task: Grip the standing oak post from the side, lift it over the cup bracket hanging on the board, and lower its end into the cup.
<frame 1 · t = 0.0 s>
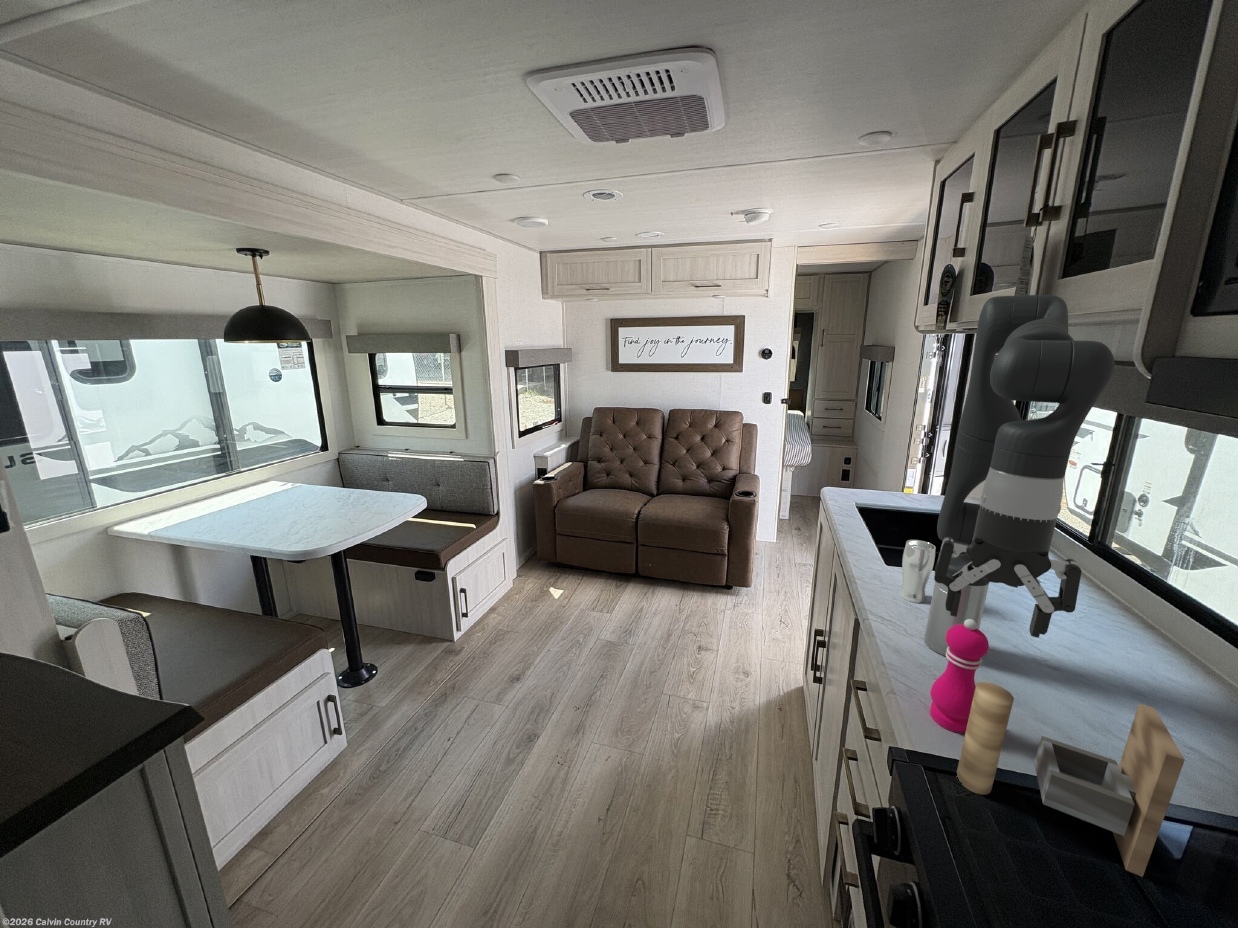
hand: (991, 623, 64), 29 cm above the countertop, tool pointing down, fingers open, 8 cm apart
oak post: (973, 781, 74), on the countertop
beer glass: (911, 597, 129), on the countertop
cup bracket: (1068, 819, 69), on the countertop
pepper mill: (949, 720, 87), on the countertop
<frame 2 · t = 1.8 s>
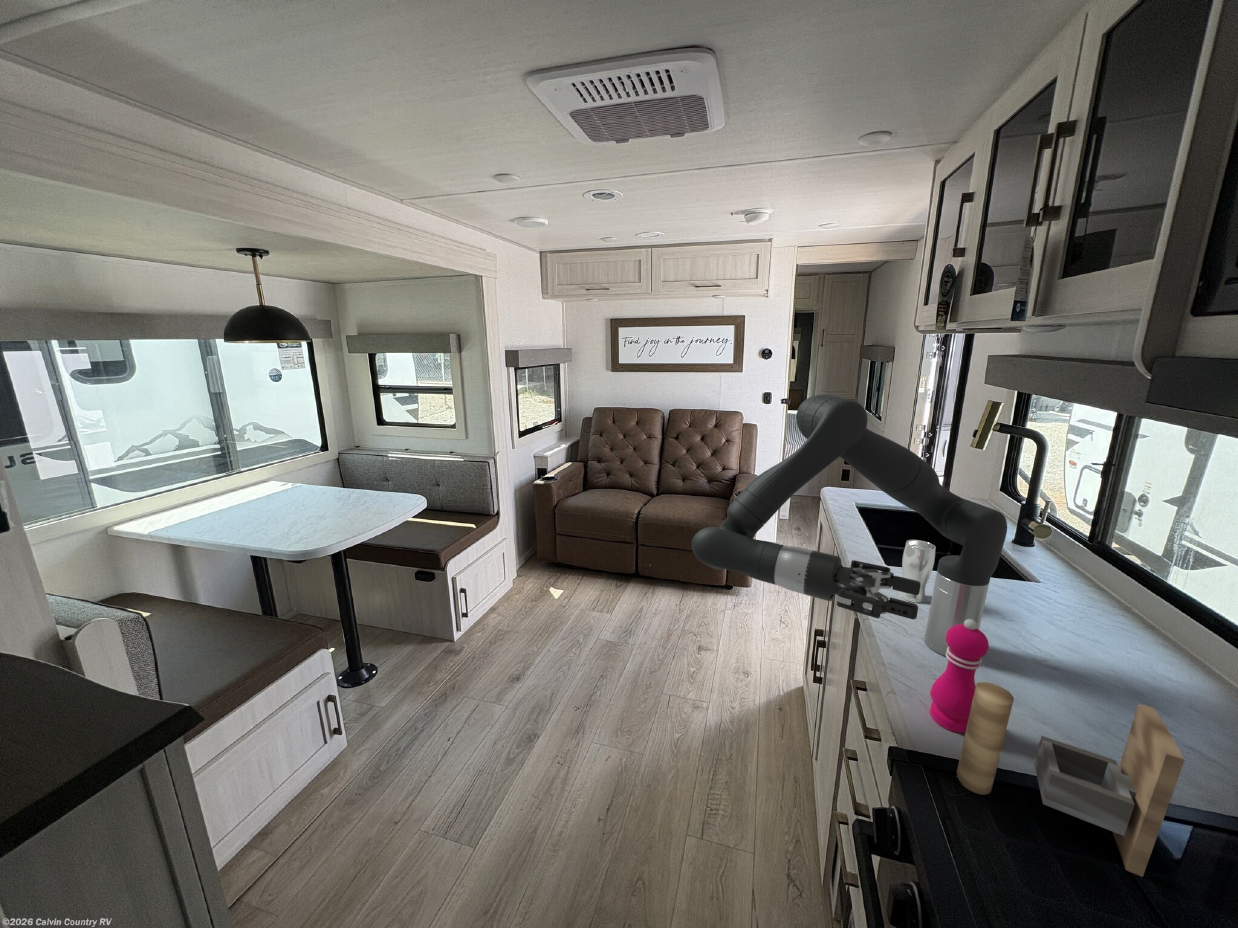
hand: (918, 599, 74), 27 cm above the countertop, tool horizontal, fingers open, 8 cm apart
nothing on the countertop moved.
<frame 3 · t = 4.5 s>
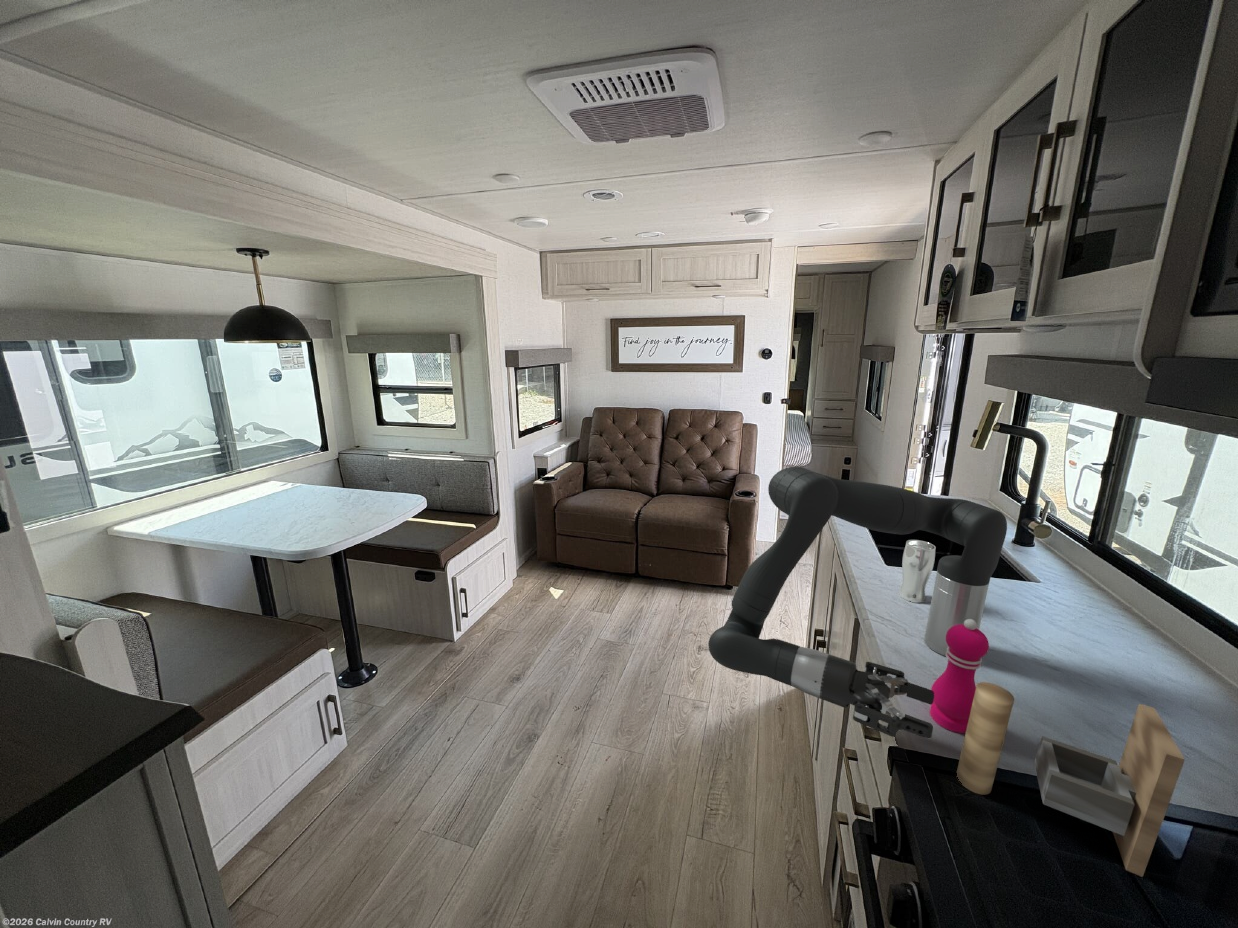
hand: (932, 714, 76), 9 cm above the countertop, tool horizontal, fingers open, 8 cm apart
nothing on the countertop moved.
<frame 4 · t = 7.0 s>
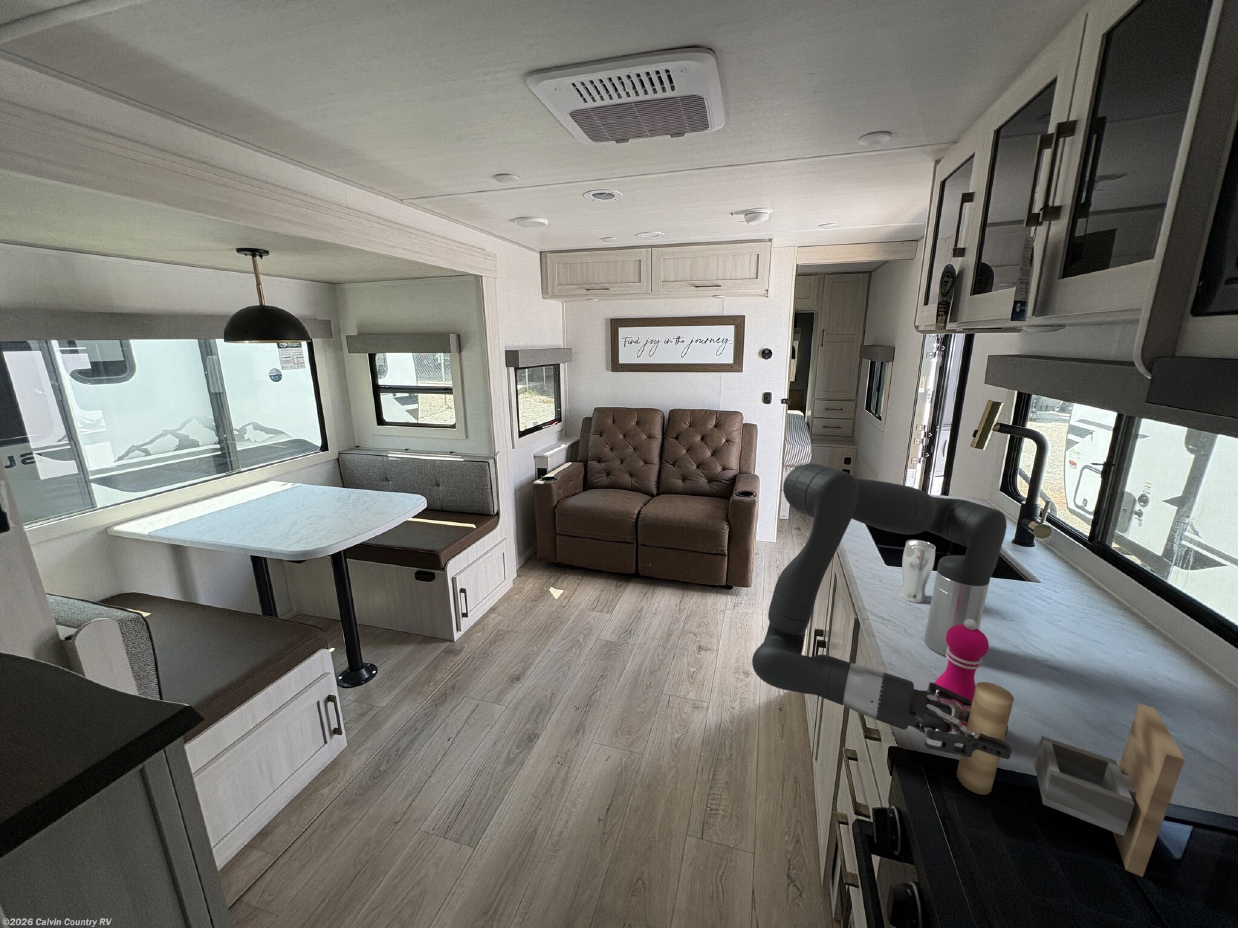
hand: (1008, 740, 71), 9 cm above the countertop, tool horizontal, fingers closed on oak post, 4 cm apart
oak post: (973, 781, 74), on the countertop, touching gripper
everything else where it was.
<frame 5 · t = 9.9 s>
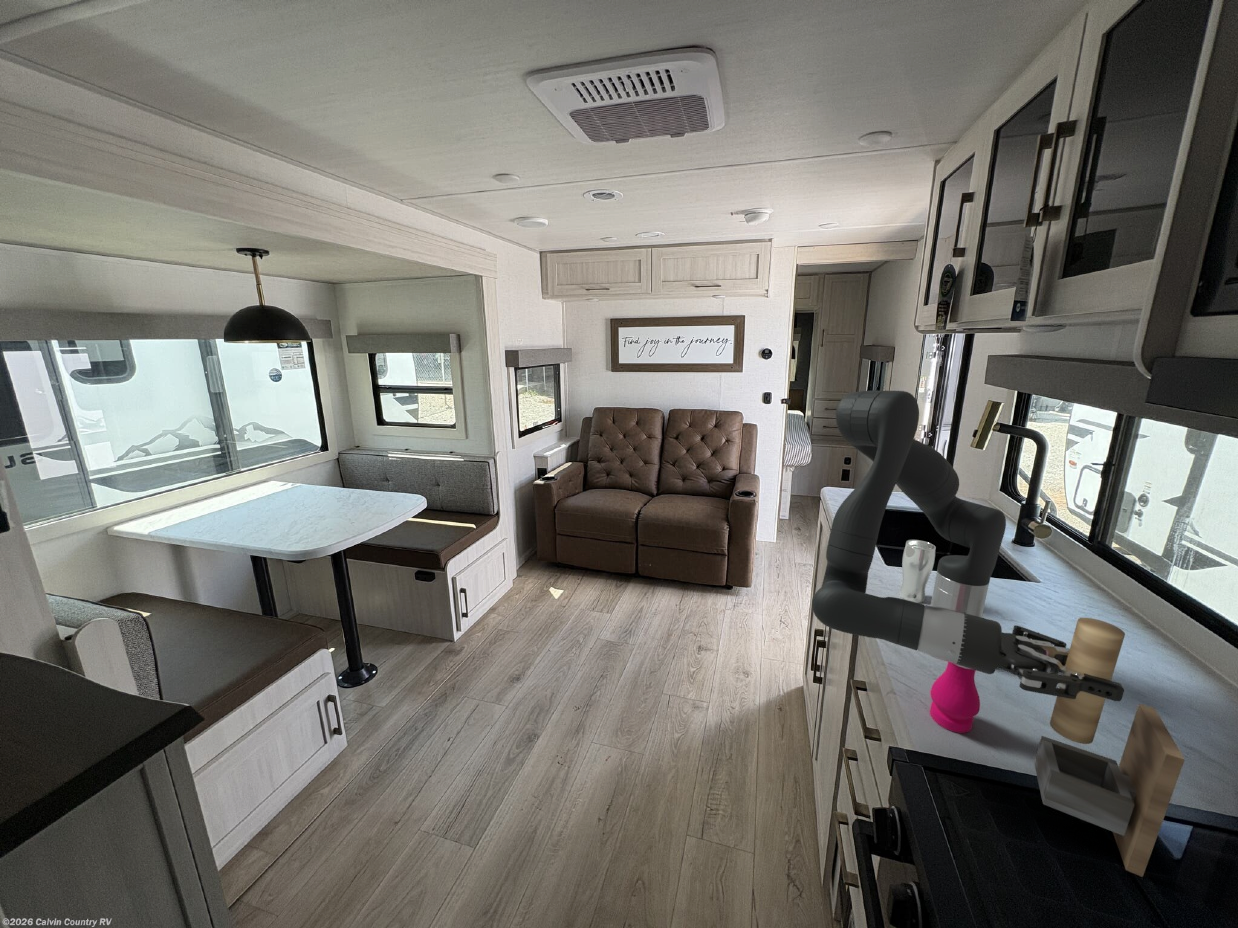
hand: (1115, 681, 63), 23 cm above the countertop, tool horizontal, fingers closed on oak post, 4 cm apart
oak post: (1071, 730, 66), point 14 cm above the countertop, touching gripper
everything else where it was.
when the fingers open (15 cm above the countertop, at t = 12.7 s): oak post drops 1 cm, resting on cup bracket.
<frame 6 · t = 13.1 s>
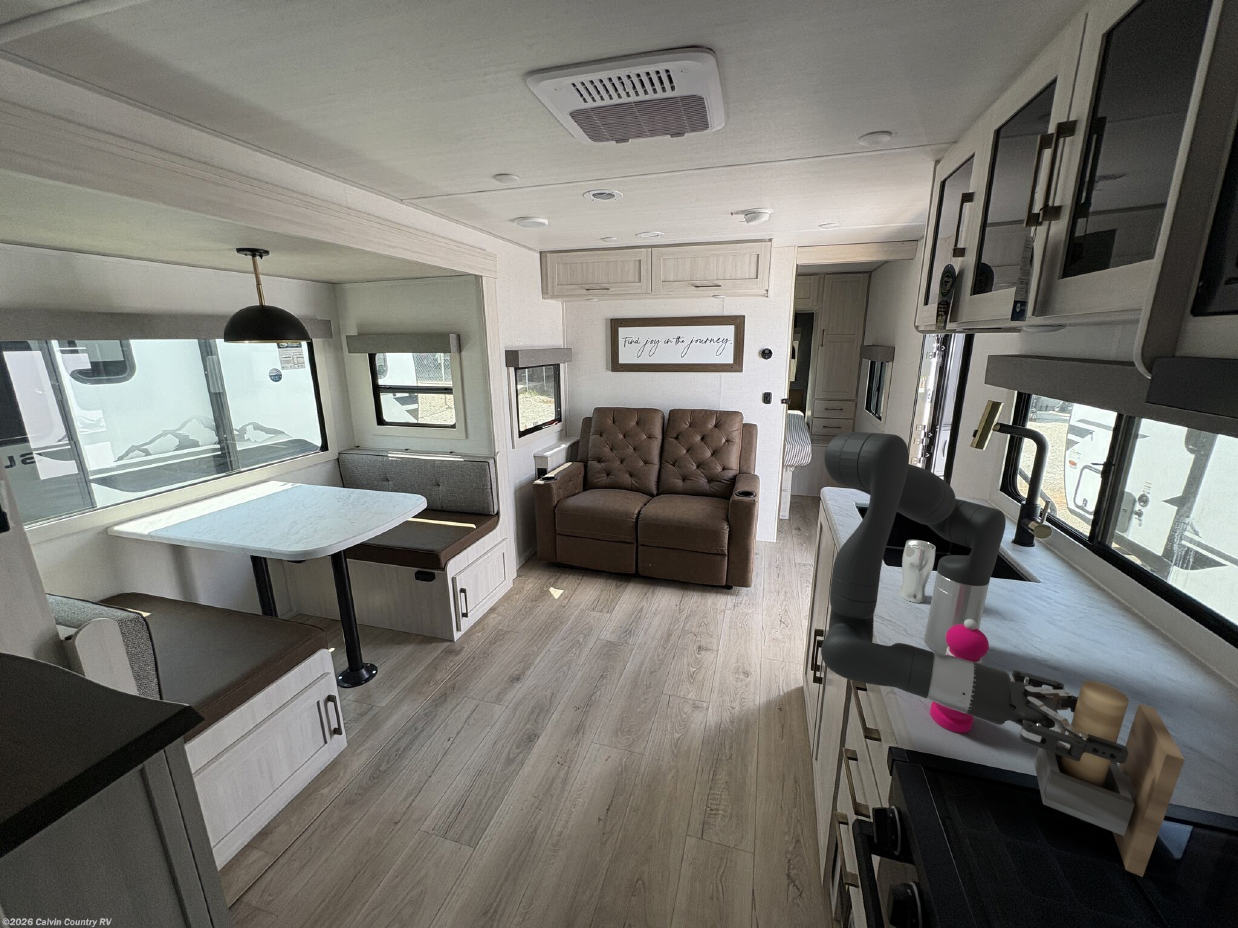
hand: (1116, 733, 64), 15 cm above the countertop, tool horizontal, fingers open, 8 cm apart
oak post: (1076, 790, 67), point 5 cm above the countertop, touching cup bracket
everything else where it was.
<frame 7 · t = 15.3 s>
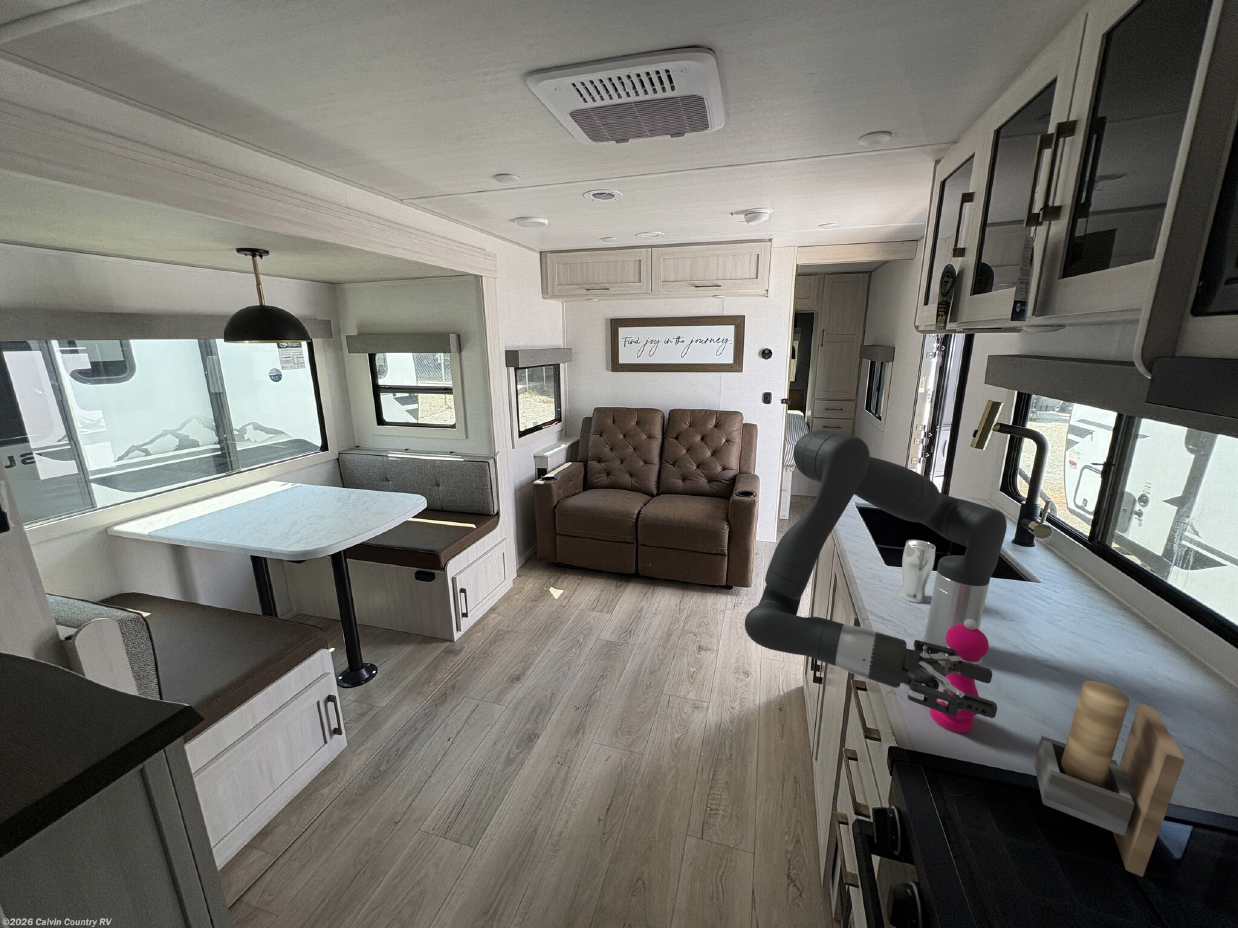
hand: (993, 692, 71), 16 cm above the countertop, tool horizontal, fingers open, 8 cm apart
nothing on the countertop moved.
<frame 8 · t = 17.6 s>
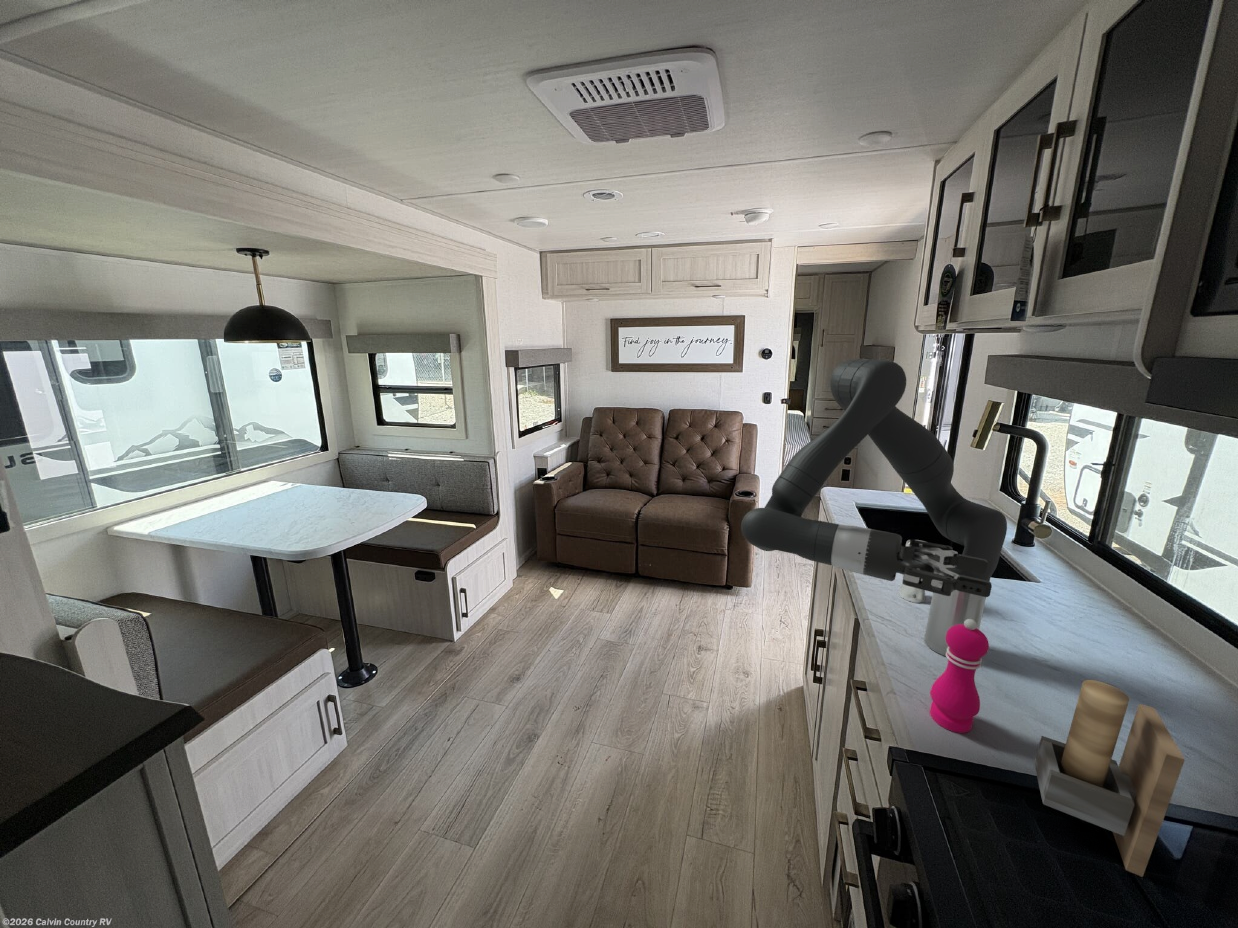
hand: (988, 577, 71), 32 cm above the countertop, tool horizontal, fingers open, 8 cm apart
nothing on the countertop moved.
at the end: oak post 0.1 cm off-centre on the cup bracket, point 5.0 cm above the cup bracket's base; oak post tilted 1°; the gripper is holding nothing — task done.
